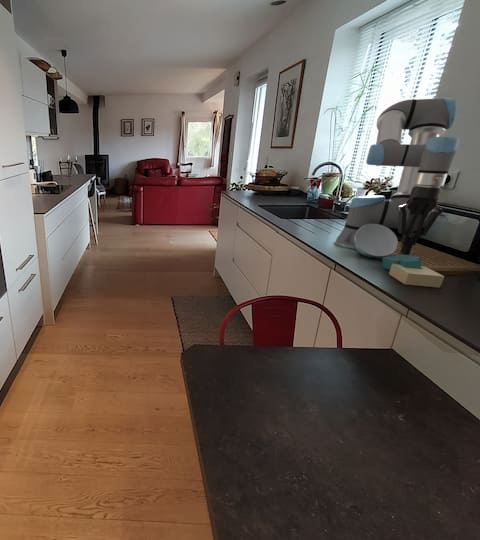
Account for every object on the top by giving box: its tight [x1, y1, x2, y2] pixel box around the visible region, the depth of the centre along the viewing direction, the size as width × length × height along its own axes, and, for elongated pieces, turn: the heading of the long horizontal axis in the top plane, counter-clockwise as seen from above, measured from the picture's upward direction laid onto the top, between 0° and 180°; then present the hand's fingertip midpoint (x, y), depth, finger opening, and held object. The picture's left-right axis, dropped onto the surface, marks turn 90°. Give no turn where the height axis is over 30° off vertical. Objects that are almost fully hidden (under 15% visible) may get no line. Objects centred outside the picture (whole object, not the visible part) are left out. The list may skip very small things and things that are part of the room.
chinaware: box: [354, 224, 399, 259], centre depth 136 cm, size 15×15×8 cm
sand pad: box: [388, 264, 445, 289], centre depth 110 cm, size 10×10×4 cm
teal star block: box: [382, 254, 422, 271], centre depth 117 cm, size 11×8×4 cm
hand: (404, 253), depth 117 cm, fingers closed
